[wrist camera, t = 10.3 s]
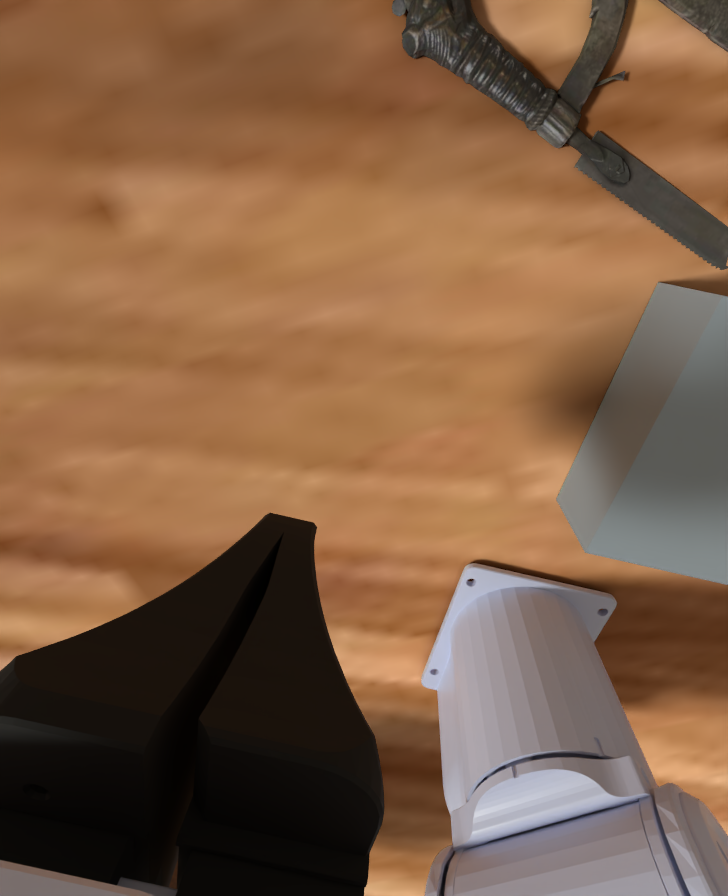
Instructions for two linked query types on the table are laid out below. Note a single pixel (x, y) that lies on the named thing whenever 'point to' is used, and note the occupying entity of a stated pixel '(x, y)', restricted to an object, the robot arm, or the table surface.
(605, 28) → the hacksaw
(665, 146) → the table surface
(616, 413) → the gray rectangular block
